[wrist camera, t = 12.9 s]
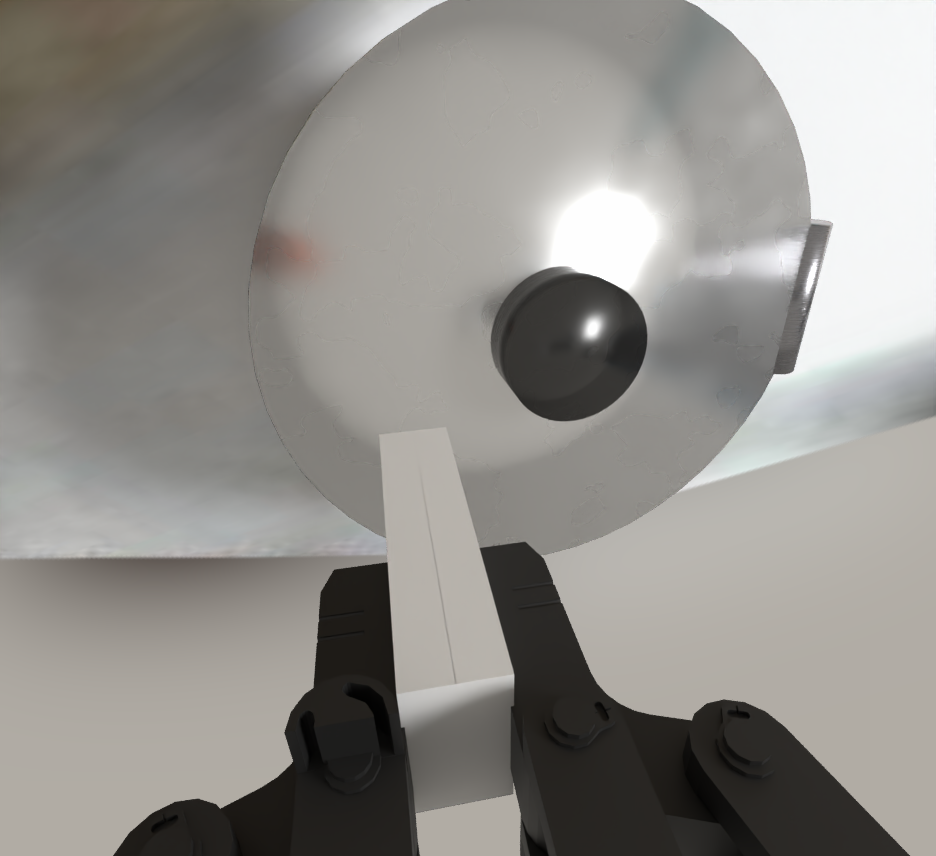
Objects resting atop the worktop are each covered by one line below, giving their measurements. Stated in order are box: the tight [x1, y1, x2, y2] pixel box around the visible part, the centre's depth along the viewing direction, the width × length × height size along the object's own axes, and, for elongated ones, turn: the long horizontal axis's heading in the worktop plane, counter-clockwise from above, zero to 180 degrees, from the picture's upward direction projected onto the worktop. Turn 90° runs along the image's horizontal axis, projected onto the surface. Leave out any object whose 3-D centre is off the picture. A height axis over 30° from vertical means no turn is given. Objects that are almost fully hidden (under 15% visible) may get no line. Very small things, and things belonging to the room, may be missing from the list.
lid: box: [248, 0, 833, 555], centre depth 21 cm, size 22×21×3 cm
